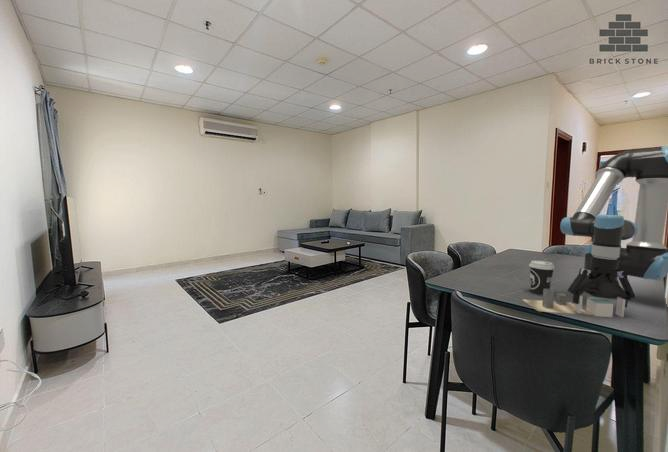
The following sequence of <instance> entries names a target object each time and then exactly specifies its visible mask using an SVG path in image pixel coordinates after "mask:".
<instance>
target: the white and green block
mask: <svg viewBox="0 0 668 452" xmlns="http://www.w3.org/2000/svg"><path fill="white" fill-rule="evenodd" d="M585 311H586V312H588V313H590V314H592V316H595V317H601V318H602V317H603V318H613V311H614V302H613V301H611V300H609V299H607V298H606V297H600V296H595V297H594V296H587V297H586V308H585Z"/></svg>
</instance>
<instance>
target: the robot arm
mask: <svg viewBox="0 0 668 452" xmlns="http://www.w3.org/2000/svg"><path fill="white" fill-rule="evenodd" d="M594 177H595V179H594V180H593V182H592V184H591V185H590V188H589V189H588V191H587V192H586V194H585V195H584V197H583V200H581V202H580V203H579V205H578V207H577V209H576V210H575V212H574V214H573V215H572V216H568V217H567V216H566V217H562V219H561V221H560V226H559V228H560V231H561V233H562V234H564V235H567V236H572V237H586V238H592V242H591V243H590V244H588V245H586V247H585V253H584V266H583V268H580V269H579V272H578V274H577V276H576V277H575V279H573V282H572V283H571V284H570V286H569V287H568V289H567V292H568V293H571V294H573V295H572V302H573V303H572V304H574V305H575V307H574V311H576V312H577V313H580V314H579V315H582V314H581V309H583V308H582V306H583V295H582V294H584V293H587V294H589V295H591V296H595V297H599V298H609V299H610V298H612V299H616V306H615V307H616V308H615V315H617V316H618V317H621V318H624V316H625V309H626V308H627V307H628V302H629V301H630V300H632V299H635V298H636V294H635V292H634V290H633V287H632V286H631V283H630V281H629V279H628V276H629V277H634V278H639V279H640V278H642V279H643V280H654V281H659V280H663V279H664V278H665V277H666V276H667V275H668V247H667V246H665V245H664V243H663V242H664V241H663V240H664V232H665V226H666V219H667V214H668V146H659V147H649V148H641V149H629V150H625V151H621V152H619V153H617V154H615V155H613V156H612V157H610V158H609V159H607V160H606V161H605V162H603V164H601V166H600V167H599V168H598V169H597V170H596V172H595V175H594ZM626 178H635V182H636V183H637V184H638V185H639V189H638V196H637V197H638V198H637V203H636V211H635V217H634V222H633V221H632V220H628V219H625V218H624V216H622V215H621V214H620V215H619V214H616V215H615V214H601V212H602V211H603V209H604V207H605V205H606V204H607V202H608V201H609V199H610V197H611V195H612V194H613V192H614V190H615V188H616V187H617V185H619V184H620V183H621V182H623V180H624V179H626ZM630 239H632V240H631V241H629V242H628V243H627V244H626V248H625V247H622V245H621V244H622V241H626V240H630ZM619 282H620V283H619ZM620 284H621V285H620ZM621 286H622V287H621Z"/></svg>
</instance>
